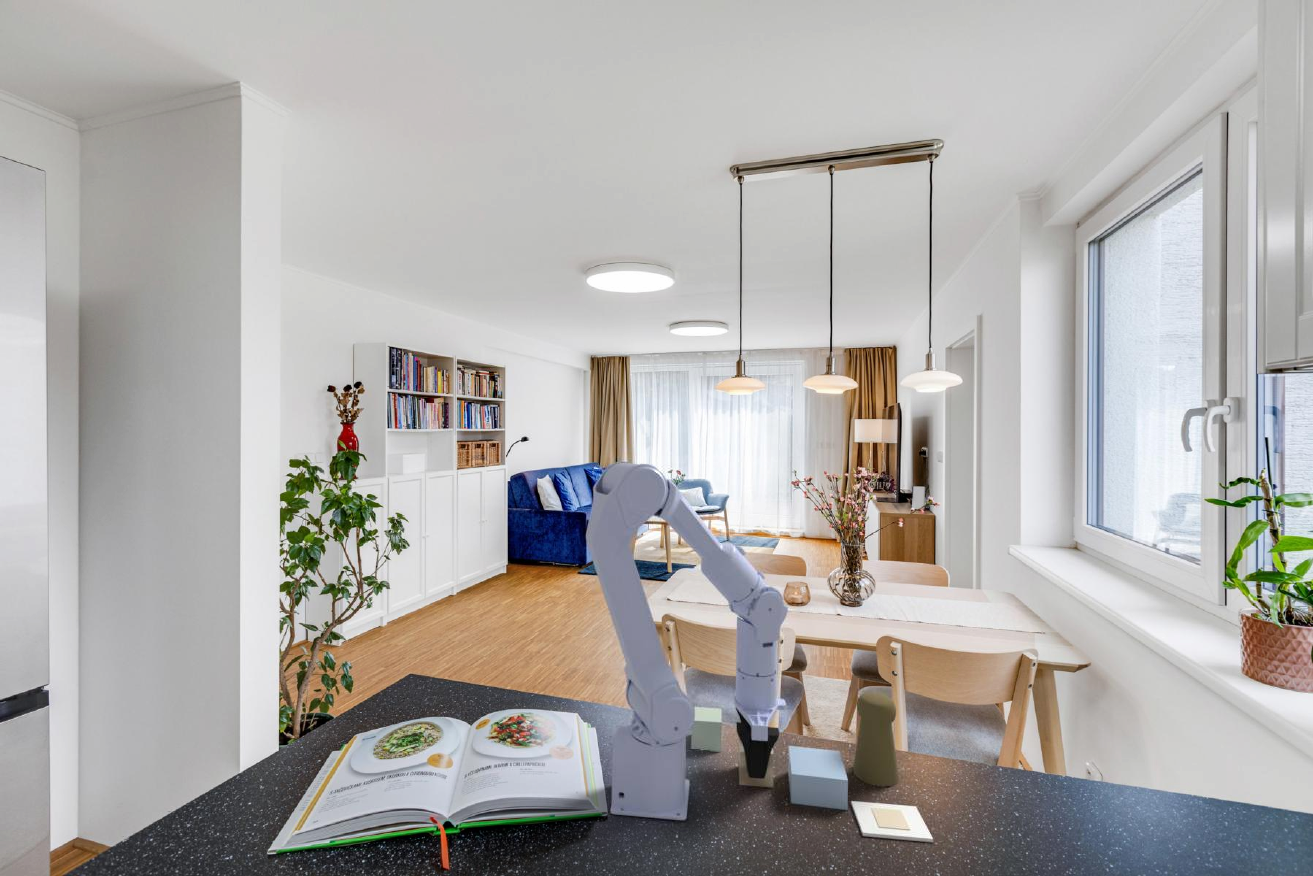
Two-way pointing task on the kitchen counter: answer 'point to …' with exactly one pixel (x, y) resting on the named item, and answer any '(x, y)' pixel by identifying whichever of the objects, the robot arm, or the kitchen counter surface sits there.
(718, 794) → the kitchen counter surface
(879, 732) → the cork
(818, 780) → the blue base block
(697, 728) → the sage green block
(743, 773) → the birch block
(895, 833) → the tile
